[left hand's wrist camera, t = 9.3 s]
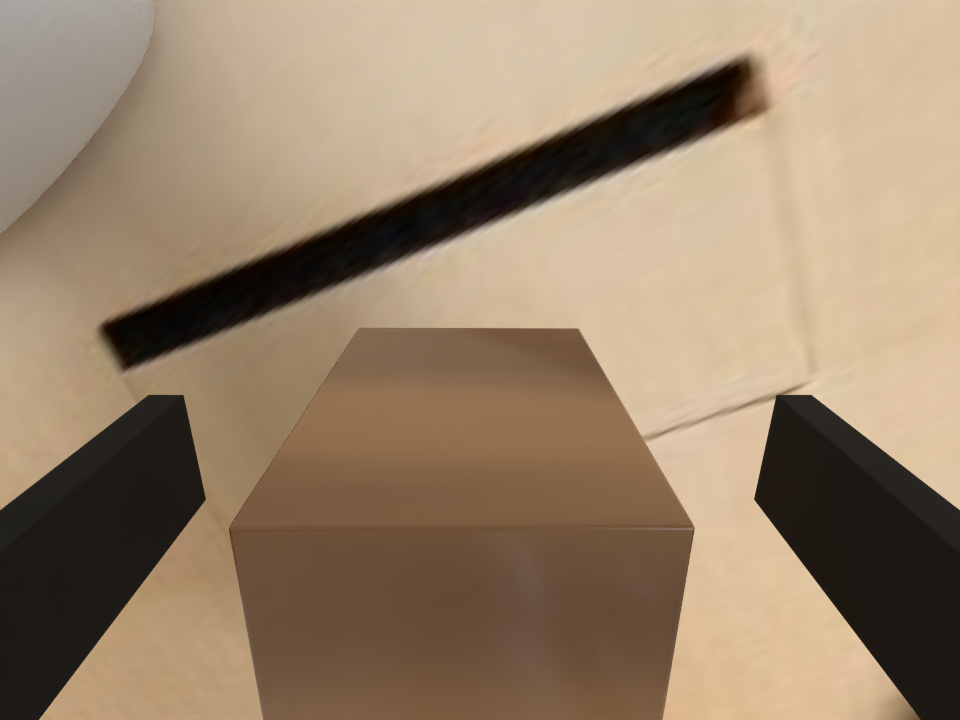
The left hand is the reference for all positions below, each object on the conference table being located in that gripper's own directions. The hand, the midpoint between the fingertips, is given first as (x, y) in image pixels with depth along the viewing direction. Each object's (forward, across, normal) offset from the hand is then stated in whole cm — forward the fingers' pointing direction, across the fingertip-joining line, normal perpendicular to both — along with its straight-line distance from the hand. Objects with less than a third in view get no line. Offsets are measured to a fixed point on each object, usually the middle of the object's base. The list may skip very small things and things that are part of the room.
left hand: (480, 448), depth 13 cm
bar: (+3, 0, -10) cm, 10 cm away
